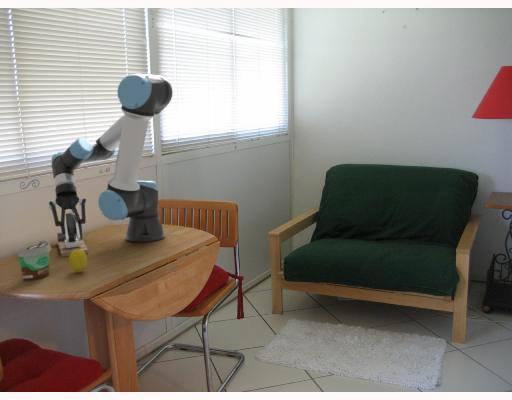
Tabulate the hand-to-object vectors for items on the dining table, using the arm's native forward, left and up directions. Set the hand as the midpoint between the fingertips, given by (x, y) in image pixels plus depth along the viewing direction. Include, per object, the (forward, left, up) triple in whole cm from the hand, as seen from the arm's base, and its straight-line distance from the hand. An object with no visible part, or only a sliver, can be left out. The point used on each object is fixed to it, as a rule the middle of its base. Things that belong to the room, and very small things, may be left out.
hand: (73, 239), depth 195 cm
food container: (-14, +22, -5) cm, 26 cm away
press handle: (+3, -2, -3) cm, 5 cm away
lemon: (-21, +13, -5) cm, 25 cm away
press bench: (+7, -4, -5) cm, 9 cm away
